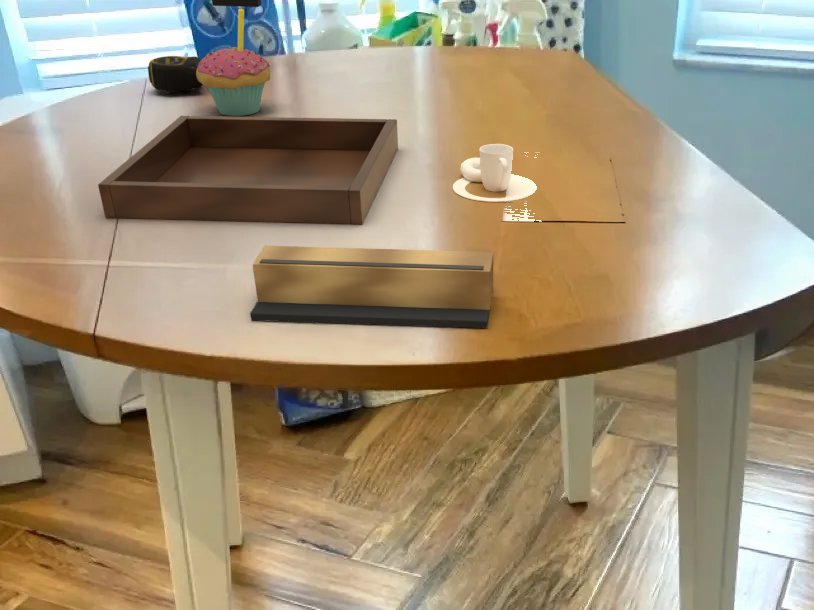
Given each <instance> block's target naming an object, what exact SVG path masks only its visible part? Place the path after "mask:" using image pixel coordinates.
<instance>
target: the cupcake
mask: <svg viewBox="0 0 814 610" xmlns="http://www.w3.org/2000/svg"><path fill="white" fill-rule="evenodd" d="M243 8H244V7H240V8H239V9H237V10H238V11H237V46H232V47H227V48H221V49H217V50H213V51H212V52H211V51H210V52H209V53H207V54H206V55H205V56H204V57H203V58H202V59H200V62H199V64H198V65H197V71H196V76H197V79H198V81H199V82H200V83H202V84H203V85H202V86H204V87H206V88H207V90H208V91H209V93H210V95H211V98H212V99H213V101H214V103H215V105H216V108H217V111H218V113H219V114H220V115H222V116H226V117H247V116H250V115H254V114H257V113H258V112H259V111H260V108H261V102H262V95H263V91H264V87H265V84H266V83H267V82H269V81H270V80H271V66H270V62H269V61H267V60H266V58H264V57H263V56H262V55H260V54H259V53H257V52H255V51H254V50H249V49H247V48H245V49H244V46H245V45H244V41H245V39H244V37H245V9H243Z"/></svg>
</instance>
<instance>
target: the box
mask: <svg viewBox="0 0 814 610" xmlns="http://www.w3.org/2000/svg"><path fill="white" fill-rule="evenodd" d="M398 150H399V136H398V119H396V118H395V119H394V118H393V119H392V118H391V119H390V118H388V119H387V118H341V117H340V118H338V117H337V118H336V117H334V118H333V117H328V118H327V117H284V116H283V117H281V116H279V117H278V116H275V117H274V116H226V115H222V116H221V115H219V116H218V115H217V116H216V115H215V116H213V115H180V116H178V117H177V118H176V119H174V121H173V122H172V123H170V124H169V125H168V126H167V127H165V128H164V129H163V130H162V131H160V132H159V133H158V134H157V135H156V136H154V138H152V139H151V140H150V141H149V142H147V143H146V144H145V145H143V147H141V148H140V149H138V150H137V152H135V153H134V154H133V155H132V156H130V157H129V158H128V159H127V160H126V161H124V162H123V163H122V164H121V165H119V167H117V168H116V169H115V170H114V171H112V172H111V173H110V174H109V175H108V176H106V177H105V178H104V179H103V180H102V181H100V182H99V183H98V184H97V187H98V191H99V194H100V201H101V204H102V209H103V213H104V217H105V219H110V220H145V221H146V220H149V221H150V220H152V221H187V222H189V221H190V222H191V221H192V222H193V221H194V222H227V223H228V222H230V223H263V224H265V223H268V224H302V225H303V224H304V225H305V224H306V225H307V224H308V225H340V226H341V225H342V226H344V225H346V226H348V225H349V226H363V225H364V223H365V221H366V218H367V216H368V214H369V212H370V210H371V208H372V206H373V203H374V201H375V199H376V198H377V195H378V192H379V191H380V189H381V187H382V184H383V182H384V180H385V178H386V176H387V173H388V172H389V170H390V168H391V165H392V164H393V161H394V159H395V157H396V155H397V153H398Z"/></svg>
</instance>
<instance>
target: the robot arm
mask: <svg viewBox="0 0 814 610" xmlns="http://www.w3.org/2000/svg"><path fill="white" fill-rule="evenodd" d="M211 4H212V6H213V7H240V8H241V7H243V8H244V7H245V8H260V7H261V6H262V0H211Z"/></svg>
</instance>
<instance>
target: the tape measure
mask: <svg viewBox="0 0 814 610" xmlns="http://www.w3.org/2000/svg"><path fill="white" fill-rule="evenodd" d="M200 61H201V59H200V58H199V57H198V56H180V55H167V56H159V57H155V58H152V59H151V60H149V63H148V66H147V72H148V74H147V75H148V79H149V83H150V84H151V86H152V87H153V88H154V89H155V90H156V91H157V90H158V91H161V92H165V93H166V94H171V93H179V92H185V91H193V90H195V89H200V88H202V87H203V86H204V85H203V84H202V83H200V82H199V81H198V79H197V76H196V71H197V65H198V64H199V62H200Z"/></svg>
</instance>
